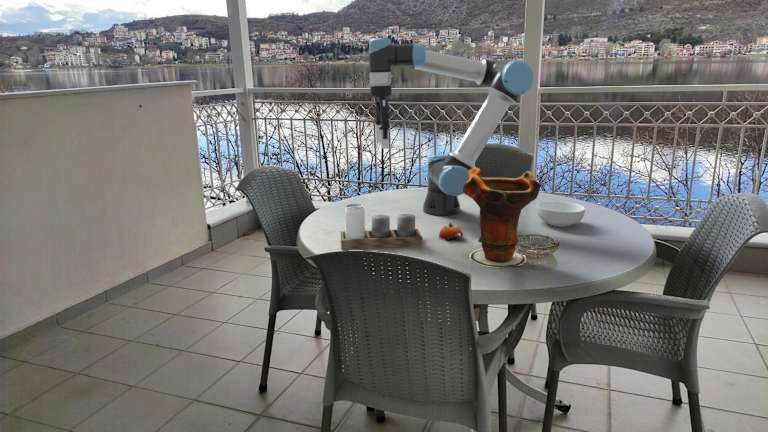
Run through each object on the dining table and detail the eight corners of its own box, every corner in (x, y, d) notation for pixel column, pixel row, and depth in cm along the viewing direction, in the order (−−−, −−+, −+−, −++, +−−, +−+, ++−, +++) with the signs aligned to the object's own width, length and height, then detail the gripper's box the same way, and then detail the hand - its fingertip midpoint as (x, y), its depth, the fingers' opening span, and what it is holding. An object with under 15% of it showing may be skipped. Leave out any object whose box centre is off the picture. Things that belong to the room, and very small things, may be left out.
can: (368, 242, 175) (367, 207, 172) (350, 245, 172) (349, 209, 169) (360, 236, 181) (359, 202, 177) (342, 239, 178) (341, 205, 175)
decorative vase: (549, 267, 155) (552, 174, 147) (472, 274, 153) (471, 180, 145) (525, 244, 175) (527, 160, 167) (456, 250, 173) (455, 166, 165)
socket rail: (417, 236, 184) (417, 212, 181) (422, 245, 175) (422, 219, 172) (340, 239, 181) (340, 214, 178) (341, 248, 172) (340, 222, 169)
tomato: (466, 231, 185) (461, 219, 180) (464, 248, 181) (458, 237, 176) (444, 231, 188) (438, 220, 183) (441, 248, 185) (435, 237, 179)
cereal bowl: (590, 223, 198) (592, 205, 196) (571, 234, 186) (573, 214, 184) (548, 215, 209) (549, 198, 207) (527, 224, 197) (529, 206, 196)
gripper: (397, 86, 174) (398, 150, 180) (386, 83, 198) (387, 139, 204) (374, 86, 173) (376, 151, 179) (366, 83, 197) (368, 140, 203)
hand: (382, 145), depth 191 cm, fingers open, 13 cm apart
